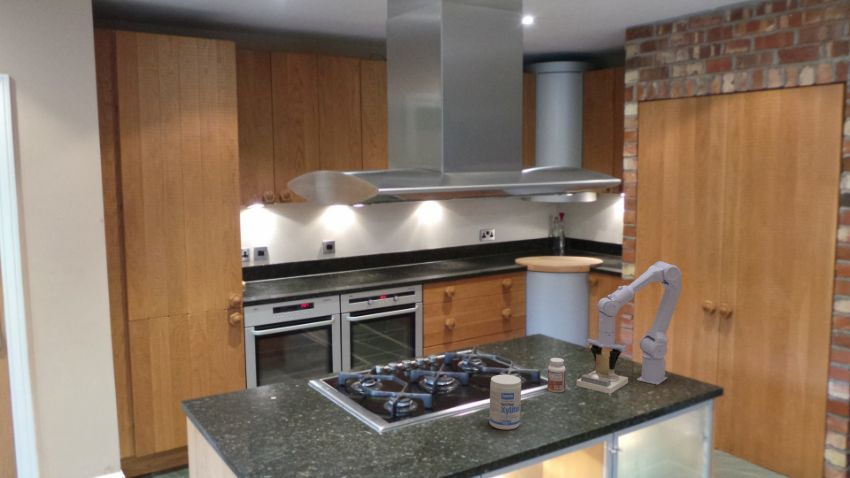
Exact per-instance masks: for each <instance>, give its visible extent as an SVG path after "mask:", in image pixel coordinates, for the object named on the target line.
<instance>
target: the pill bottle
mask: <svg viewBox="0 0 850 478" xmlns="http://www.w3.org/2000/svg"><path fill="white" fill-rule="evenodd" d="M549 363H550V364H549V365H548V367H547V390H548V391H549V392H551V393H563V392H564V391H565V390H566V375H567V374H566V367H565V364H564V359H563V358H560V357H552V358H550V361H549Z"/></svg>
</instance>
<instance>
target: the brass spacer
mask: <svg viewBox="0 0 850 478" xmlns="http://www.w3.org/2000/svg"><path fill="white" fill-rule="evenodd" d="M610 363H611V359H610V351H609V352H608V351H603V350H602V352H600V353H598V354H596V362H595V370H596V373H598V374H603V375H607V376H609V375H611V374H612V373H614V374H615V369H616V368H615V369H613V370H611V369H610Z"/></svg>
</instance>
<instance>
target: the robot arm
mask: <svg viewBox="0 0 850 478" xmlns="http://www.w3.org/2000/svg"><path fill="white" fill-rule="evenodd" d="M682 276H683V273H682V271H681V269H680V268H679V267H678V266H677V265H674V264H672V263H671V264H670V263H667V262H665V261H661V260H659V261H656V262H655V263H654V264H652V265H651V266H649V267H648V269H647V270H646V271H645V272H644V273H642V274H641V275H640V276H638V278H636V279H635V280H633V281H632V282H631V283H630V284H629V285H622V286H621V285H619V286H618V287H617V289H616V290H614V292H612V293H611V294H608V295H607V297H603V298H600V300H599V301H598V303H597V304H596V308H597V311H598V336H597V337H598V338H597V339H592V338H588V339H587V340H586V346H591V347H590V352H591V353H592V355H593V357H594V358H593V359H594V361H595V363H596V354H598V353H600V352H602V351H603V349H609V350H610V351H609V353H610V359H611V363H610V369H611V370H613V369H616V364H617V361H618V359H619V357H620V355H621V353H625V352H627V345H623V344H619V343H616V342H615V341H616V339H615V337H616V336H615V335H616V315H617V314H618V313H619V311H620V309H621V308H622V307H623V306H625V305H626V304H628V303H629V302H631V301H632V300H633V299H634V297H635V293H637V292H639V291H641V290H642V289H644V288H645V287H647V286H648V285H650V284H651V283H653V282H656V283H658V282H659V283H661V285H662V286H663V288H664V290H663V294H662V297H661V300H660V302H659V306H658V308H657V311H656V314H655V316H654V320H653V322H652V326H651V328H650V329H649V330H647V331H646V332H645V334H644V336H643V337H642V338H641V340H640V342H639V349H640V350H641V352H642V355H641V356H642V360H641V376H639V377H638V378H637V379H636V380H637V381H639V382H644V383H648V384H653V385H660V384H661V383H663V382H665V380H667V379H668V376H666V365H667V364H666V359H665V357H666V354H667V352H668V347H667V345H668V343H669V341H668V338H667V332H668V329H669V326H670V323H671V320H672V318H673V315H674V312H675V309H676V307H677V304H678V301H679V298H680V295H681V293H682V288H683V286H682Z"/></svg>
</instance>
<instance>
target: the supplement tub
mask: <svg viewBox="0 0 850 478" xmlns="http://www.w3.org/2000/svg"><path fill="white" fill-rule="evenodd" d="M489 385H490V389H489V419H488V420H489V421H488V422H489V424H490V426H492V427H493V428H496V429H499V430H505V431H506V430H514V429H516V428H518V427H519V426H520V424H521V408H522V407H521V405H522V404H521V402H522V401H521V400H522V379H521V378H520V377H518V376H516V375H512V374H498V375H497V374H496V375H493V376H492V377H491V378H490V384H489Z"/></svg>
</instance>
